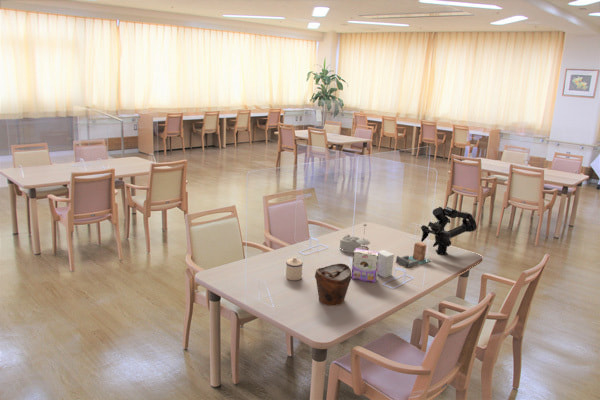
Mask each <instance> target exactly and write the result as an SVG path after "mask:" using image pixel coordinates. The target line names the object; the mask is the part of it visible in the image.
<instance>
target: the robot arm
mask: <svg viewBox="0 0 600 400" xmlns="http://www.w3.org/2000/svg"><path fill="white" fill-rule="evenodd" d="M432 215H433V216H434V218H435V219H436V220H437V221H435V222H432V221H429V222H428V225H425V224H423V225H421V226H420V230H421V231H422V236H421V239H420V241H421V243H423V242H424V241H425V239H427V238H428V236H429V234H432V235H434V240H435V242H434V243H433V244H432V247H433V248H434V247H437V249H435V253H437V255H444V256H445V255H449V254H448V252H447V251H448V247H450V246H451V244H452V241H451V239H452V238H455V237H457V236H458V235H462V234H463V233H471V232H475V231H476V230H477V221H476V220H475V218H474V217H473V215H472V213H469V212H464V211H460V210H456V209H454V208H452V207H448V206H446V207H444V208H443V207H441V206H439V207H436V208H434V209H433V210H432ZM457 218H460V219H462V220H461V222H462V223H461V225H458V226H455V227H454V228H451V229H449V230H446V229H445V228H446V226H447V224H451V219H457Z"/></svg>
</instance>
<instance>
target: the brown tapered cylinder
mask: <svg viewBox="0 0 600 400" xmlns="http://www.w3.org/2000/svg"><path fill="white" fill-rule="evenodd" d="M351 275H352V269H351V267H349V265H348V264H345V263H335V264H331V265H328V266H324V267H319V268H317V269H316V270H315V274H314V278H315V281H316V288H317V295H318V301H319V303H321V304H322V305H325V306H330V307H331V306H334V307H335V306H340V305H342V304H343V303H344V301H345V299H346V296H347V293H348V290H349V286H350V283H351V281H352V278H351Z"/></svg>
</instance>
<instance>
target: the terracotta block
mask: <svg viewBox="0 0 600 400" xmlns="http://www.w3.org/2000/svg"><path fill="white" fill-rule="evenodd" d="M426 251H427V244H426V243H423V242H420V241H419V242H416V243H415V242H414V247H413V253H412V256H413V259H415V260H419V261H422V260H424V259H426Z"/></svg>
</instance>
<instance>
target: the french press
mask: <svg viewBox="0 0 600 400" xmlns="http://www.w3.org/2000/svg"><path fill="white" fill-rule="evenodd" d="M367 226H368V225H367V223H363V227H367ZM363 231H364V232H363V234H365V232H366V228H364V229H363ZM357 243H358V244H361V246H358V247H357V248H358V249H363V250H369V247H368V246H369V245H370V244H371V241H370V240H369V239H368V238H367V239H366V238H360V239H358V240H357ZM369 251H370V250H369Z"/></svg>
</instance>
